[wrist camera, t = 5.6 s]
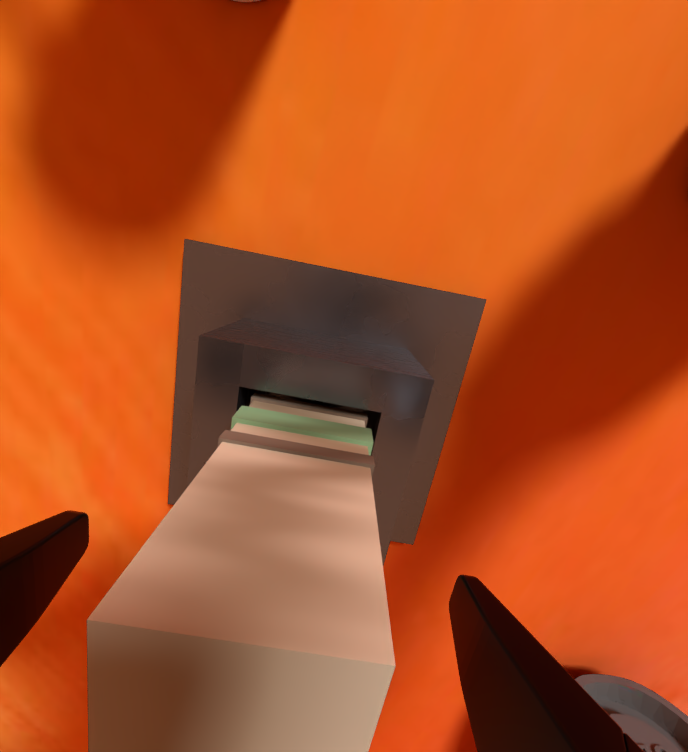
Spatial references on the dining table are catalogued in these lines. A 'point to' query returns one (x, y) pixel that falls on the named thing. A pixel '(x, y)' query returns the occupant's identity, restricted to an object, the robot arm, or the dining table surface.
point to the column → (253, 600)
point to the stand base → (321, 363)
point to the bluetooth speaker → (639, 712)
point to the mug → (246, 0)
